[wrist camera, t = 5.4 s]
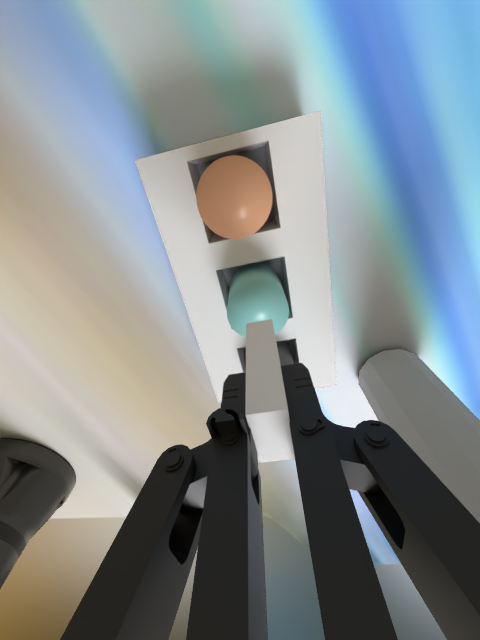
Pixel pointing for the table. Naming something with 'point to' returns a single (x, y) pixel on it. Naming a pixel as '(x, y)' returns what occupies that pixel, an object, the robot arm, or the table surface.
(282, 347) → the button charcoal
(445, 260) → the table surface
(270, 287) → the button teal
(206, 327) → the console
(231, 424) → the robot arm
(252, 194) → the button terracotta
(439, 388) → the water bottle
